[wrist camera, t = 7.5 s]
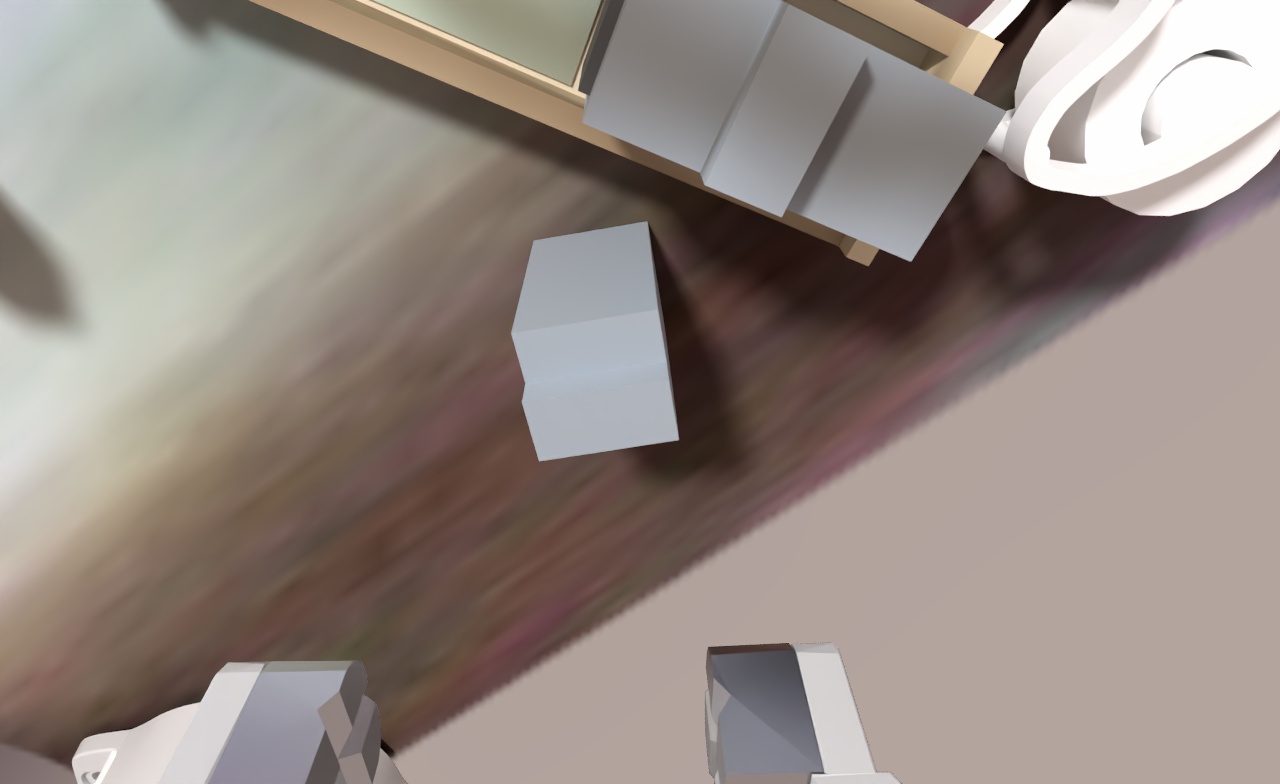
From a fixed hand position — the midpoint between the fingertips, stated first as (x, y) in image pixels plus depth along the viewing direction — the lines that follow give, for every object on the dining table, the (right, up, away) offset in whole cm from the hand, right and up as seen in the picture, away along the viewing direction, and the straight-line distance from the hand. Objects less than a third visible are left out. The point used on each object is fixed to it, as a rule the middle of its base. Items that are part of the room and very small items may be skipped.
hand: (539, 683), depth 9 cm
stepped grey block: (0, +7, +18) cm, 20 cm away
